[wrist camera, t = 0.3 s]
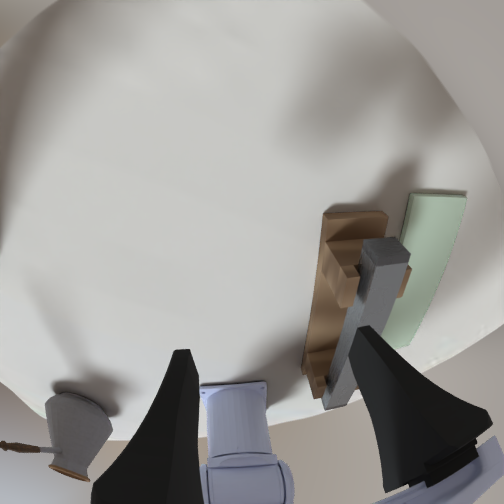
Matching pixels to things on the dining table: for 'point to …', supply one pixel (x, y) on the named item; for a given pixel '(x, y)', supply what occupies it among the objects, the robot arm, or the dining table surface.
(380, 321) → the rail
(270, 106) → the dining table surface
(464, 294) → the dining table surface
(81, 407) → the coffee pot
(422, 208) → the pad
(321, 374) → the rack
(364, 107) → the dining table surface
